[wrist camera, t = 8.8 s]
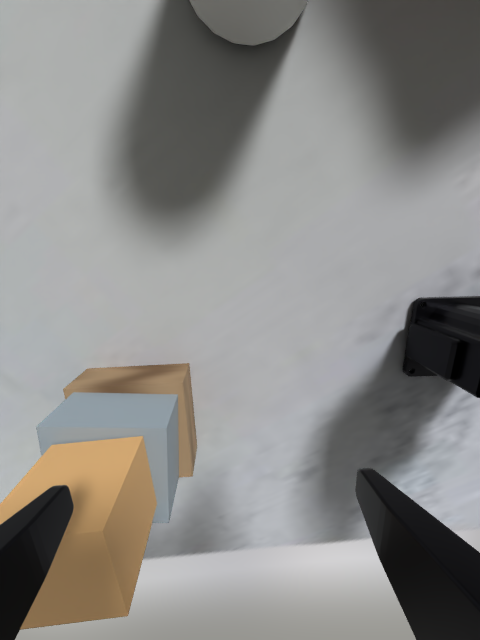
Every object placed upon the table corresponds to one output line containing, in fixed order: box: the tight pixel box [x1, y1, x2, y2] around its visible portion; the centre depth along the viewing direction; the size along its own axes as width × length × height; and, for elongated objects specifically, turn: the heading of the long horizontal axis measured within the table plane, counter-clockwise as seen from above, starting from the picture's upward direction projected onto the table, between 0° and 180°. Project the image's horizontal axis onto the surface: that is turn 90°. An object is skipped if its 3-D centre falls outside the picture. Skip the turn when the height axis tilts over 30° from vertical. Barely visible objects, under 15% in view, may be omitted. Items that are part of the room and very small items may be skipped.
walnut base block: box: [63, 363, 197, 477], centre depth 20 cm, size 8×8×4 cm
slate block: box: [36, 392, 179, 523], centre depth 17 cm, size 7×7×4 cm
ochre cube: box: [0, 436, 157, 630], centre depth 13 cm, size 5×5×5 cm
